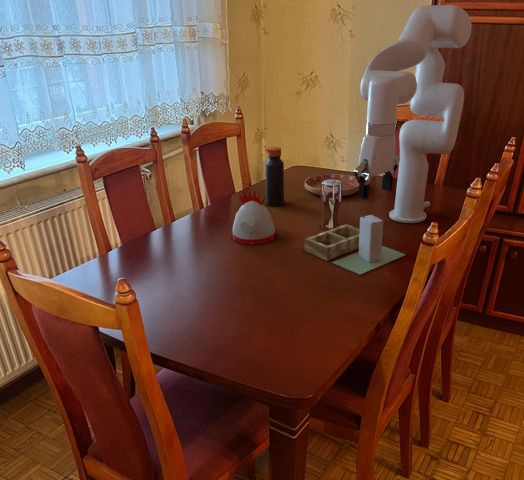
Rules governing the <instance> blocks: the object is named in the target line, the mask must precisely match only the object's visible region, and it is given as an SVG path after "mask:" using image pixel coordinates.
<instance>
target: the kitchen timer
mask: <svg viewBox="0 0 524 480" xmlns="http://www.w3.org/2000/svg"><path fill="white" fill-rule="evenodd" d="M256 193H257V192H256V190H254V191H253V193H252V191H251V190H249V192H248V196H247V193H246V191H245V190H244V191H243V195H242V194H239V195H238V197H239V200H240V202H241V203H242V205H241V206H240V208H239V209H238V211H236V213H234V216H235V217H234V221H233V224H232V239H233V241H234V242H237V243H239V244H242V245H251V246H252V245H253V246H254V245H262V244H266V243H270V242H271V241H273V240H274V239H275V238H276V230H275V224H274V222H273V219H272V216H271V213H270V211H269V210H268V209H267V207H266V206H265V205H264V202H265V201H266V197H263V199H262V201H260V200H261V199H260V198H261V193H260V194H259V195H258V196H257V194H256Z"/></svg>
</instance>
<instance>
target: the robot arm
mask: <svg viewBox="0 0 524 480" xmlns="http://www.w3.org/2000/svg"><path fill="white" fill-rule="evenodd" d="M472 26H473V25H472V19H471V17H470V15H469V13H467V11H465V10H464V8H462V7H460V6H459V5H456V4H455V5H454V4H431V5H430V4H429V5H428V4H426V5H421V6H418V7H417V8H416V9H415V10H413V11H412V13H411V14H410V16H409V18H408V20H407V22H406V24H405V25H404V28H403V30H402V32H401V34H400V36H399V38H398V40H396V41H395V42H393V43H391V44H390V45H388V46H386V47H385V48H384V49H382V50H380V51H379V52H377V54H375V55H374V56H373V57H372V58H371V59H370V61H369V63H368V65H367V66H366V69H365V71H364V73H363V75H362V77H361V81H360V87H359V89H360V91H359V92H360V95H361V97H362V99H363V100H365V101H366V102H367V105H366V107H367V109H366V124H365V135H364V136H363V138H362V140H361V141H362V142H361V146H360V150H359V151H360V152H359V158H358V160H359V161H358V166H356V167H355V169H354V170H353V173H354V176H355V177H356V180H357V181H358V183H359V191H358V195H357V197H358V198H359V199H362V200H365V201H368V200H369V198H370V184H369V183H370V182H371V179H372V177H377V176H379V175H382V174H383V175H382V179H381V189H382V190H384V191H388V192H392V191H393V184H394V177H395V175H396V172H397V170H398V172H397V180H396V189H395V199H394V207H393V208H394V209H392V210H390V211H389V212H388V217H389V218H390V220H392V221H394V222H398V223H403V224H418V223H422V222H424V221H425V220H427V213H426V212H425V211H424V210H425V209H426V208H428V207H431V202H430V201H429V200H426V201H425V197H426V189H427V182H428V174H429V162H428V159H427V157H426V155H425V154H433V155H449V154H450V153H451V152H452V151H453V149H455V148H454V147H455V144H456V142H457V141H456V140H457V137H458V132H459V126H460V122H461V118H462V112H463V108H464V103H465V102H464V101H465V90H464V88H463V86H462V85H461V84H458V83H456V82H455V83H454V82H443V79H444V74H445V69H446V63H445V60H444V58H443V55H442V54H441V52H440V51H439V49H460V48H463V47H465V46H466V45H467V43H468V41H469V39H470V37H471V35H472V28H473V27H472ZM413 67H415V73H412V72H410V71H404V70H407V69H410V68H413ZM408 102H409V107H410V112H412V113H413V114H415V115H417V116H424V117H425V116H426V117H439V118H443V121H438V120H428V119H426V120H425V119H410V120H407V121H405V122H404V123H403V124H402V126H401V127H400V129H399V135H398V138H399V139H398V140H399V141H398V142H399V156H398V155H396V153H397V152H396V150H397V140H396V139H397V138H396V127H397V118H398V117H397V116H398V105H403V104H407V103H408Z"/></svg>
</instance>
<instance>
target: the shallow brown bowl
mask: <svg viewBox="0 0 524 480" xmlns="http://www.w3.org/2000/svg"><path fill="white" fill-rule="evenodd" d="M329 179H334V180H339V181H341V182H342V197H347V196H351V195H354V194H356V193H357V192H359V183H358V181H357V180H356V177H355V175H351V174H344V173H343V174H342V173H324V174H323V173H322V174H317V175H312V176H310V177H307V178H306V179H305V180H304V188H305V190H306V191H309V192H310V193H311V194H313V195H316V196H320V192H321V182H322V181H324V180H329Z"/></svg>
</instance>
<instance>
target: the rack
mask: <svg viewBox="0 0 524 480" xmlns="http://www.w3.org/2000/svg"><path fill="white" fill-rule="evenodd" d="M359 235H360V228H358V227H355V226H353V225H350V224H347V223H346V224H342V225H339V227H337V228H334V229H331V230H325V231H323V232H320V233H317V234H315V235H311V236H309V237H306V238H304V249H303V250H304V252H306V253H308V254H311V256H315V257H317V258H320V259H322V260H324V261H330V260H333V259H336V258H338V257H340V256H342V255H345V254H349V253H350V252H353V251H355V250H359Z"/></svg>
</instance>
